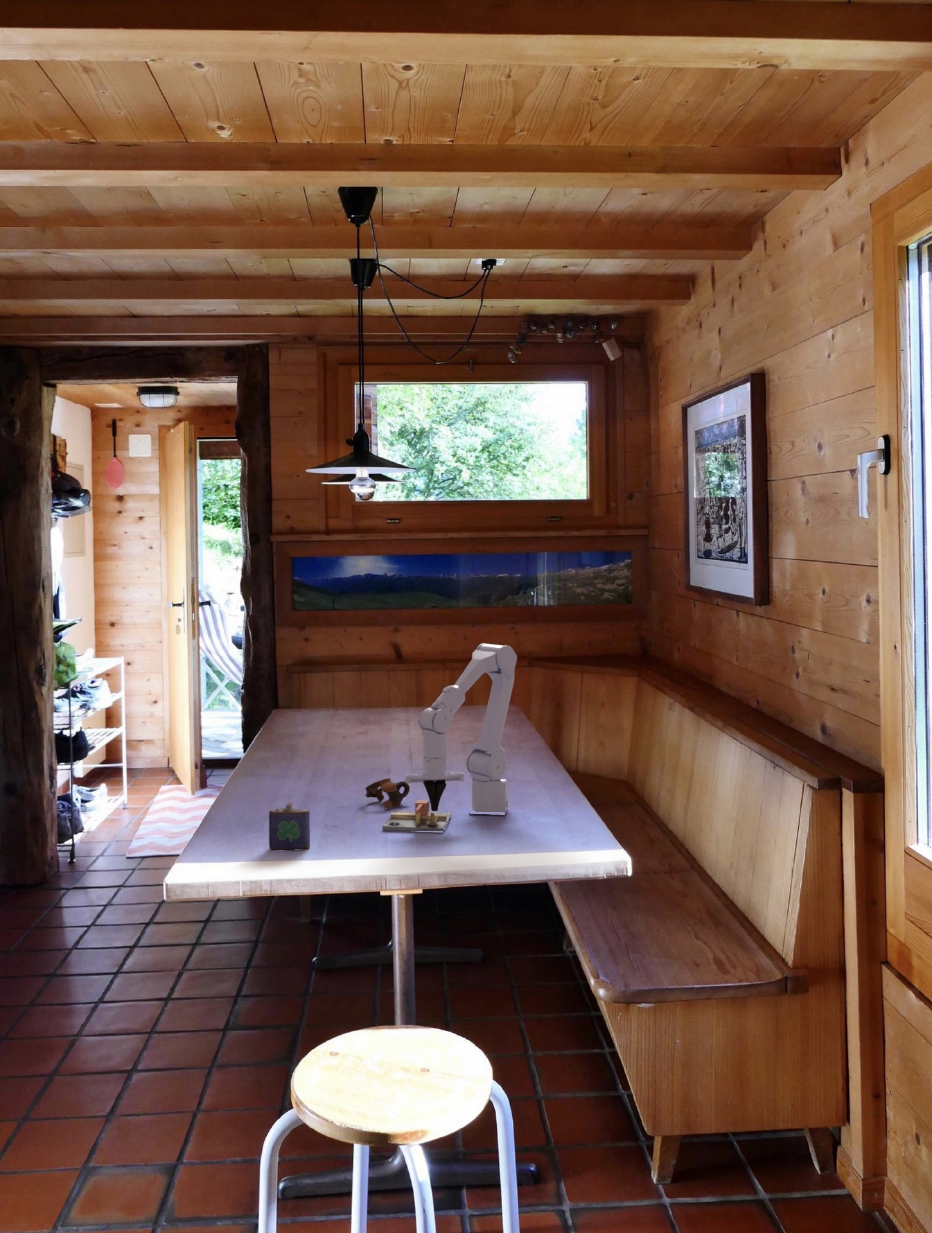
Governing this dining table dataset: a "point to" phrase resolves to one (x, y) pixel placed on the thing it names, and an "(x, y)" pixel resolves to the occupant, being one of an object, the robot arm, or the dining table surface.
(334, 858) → the dining table surface
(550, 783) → the dining table surface
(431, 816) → the beam
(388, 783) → the pottery mug
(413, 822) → the bolt plate
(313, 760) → the dining table surface
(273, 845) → the flask
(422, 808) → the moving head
